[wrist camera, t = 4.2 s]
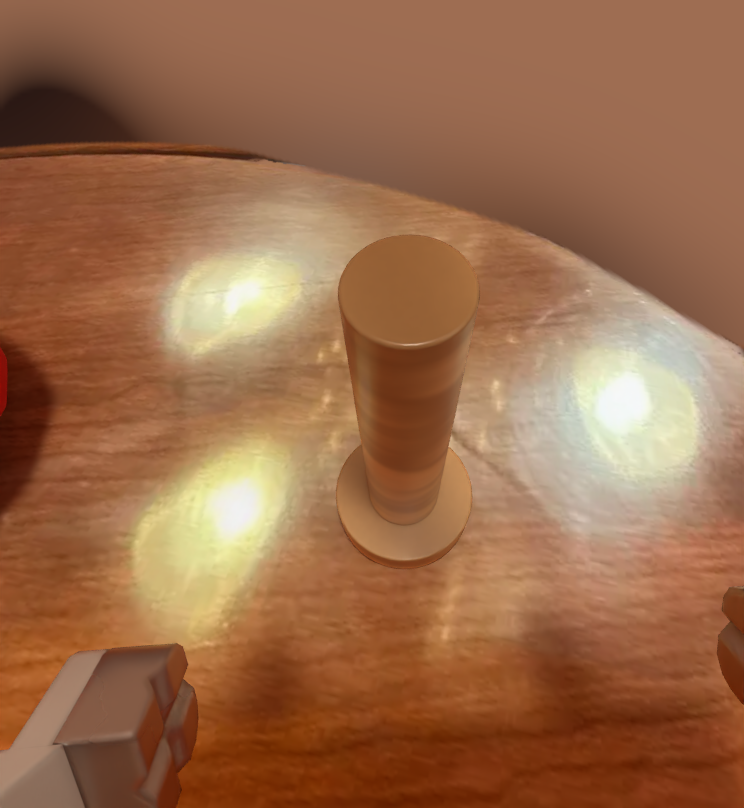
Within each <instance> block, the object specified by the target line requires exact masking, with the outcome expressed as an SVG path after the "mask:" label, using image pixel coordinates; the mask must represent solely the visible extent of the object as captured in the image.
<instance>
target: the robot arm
mask: <svg viewBox="0 0 744 808" xmlns="http://www.w3.org/2000/svg"><path fill="white" fill-rule="evenodd" d="M722 612H723V613H724V614H725V615H726V617H727V618H728V619H729V621H730V622H729V623H728V625H727V626H726V627H725V628H724V629H723V630H722V631H721V633H720V634H719V635H718V647H717V656H718V660H719V663H720V667H721V671H722V674H723V676H724V678H725V680H726V682H727V683H728V685H729V687H730V689H731V690H732V691H733V693H734V694H735V695H736V697H737V698H738V699H739V700H740V702H741V703H742V704H744V586H738V587H729V589H728V590H727V592H726V593H725V595H724V597H723V604H722ZM187 666H188V662H187V659H186V655H185V652H184V649H183V646H181V645H179V644H177V643H174V644H161V645H148V646H135V647H122V648H112V649H103V650H91V651H78V652H77V653H75V654H74V655H72V656H70V657H69V658H68V660H67V661H66V663H65V664H64V666H63V667H62V669H61V670H60V672H59V673H58V675H57V676H56V678H55V679H54V681H53V682H52V684H51V686H50V687H49V689H48V690H47V692H46V693H45V695H44V696H43V698H42V699H41V701H40V702H39V704H38V705H37V707H36V709H35V710H34V712H33V713H32V715H31V716H30V718H29V719H28V721H27V722H26V724H25V725H24V727H23V728H22V730H21V731H20V733H19V735H18V736H17V738H16V739H15V741H14V742H13V744H12V745H11V747H10V748H9V750H0V808H176V807H177V803H178V800H179V797H180V794H181V790H182V789H181V786H180V782H179V778H178V774H177V773H178V772H179V771H180V770H181V769H182V768H183V767H184V766H185V765H186V764H187V763H188V762H189V761H190V760H191V757H192V753H193V750H194V746H195V742H196V737H197V727H198V705H197V698H196V694H195V690H194V688H193V687H192V686H191V685H190V684H188V683H187V682H186V681H185V680H184V679H183V677H184V675H185V672H186V669H187Z"/></svg>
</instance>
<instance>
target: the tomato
mask: <svg viewBox="0 0 744 808" xmlns="http://www.w3.org/2000/svg"><path fill="white" fill-rule="evenodd" d="M7 374H8V368H7V358H6V356H5V355H4V353H3V351H2V349H1V347H0V416H1V415H2V413H3V411H4V409H5V407H6V404H7Z"/></svg>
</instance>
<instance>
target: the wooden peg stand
mask: <svg viewBox="0 0 744 808" xmlns="http://www.w3.org/2000/svg"><path fill="white" fill-rule="evenodd" d="M479 299H480V288H479V282H478V279H477V276H476V274H475V271H474V269H473V267H472V266H471V264H470V263H469V261H468V260H467V259H466V258H465V257H464V256H463V255H462V254H461V253H460V252H459V251H458V250H456V249H455V248H453V247H452V246H450V245H448V244H446V243H445V242H442V241H440V240H437V239H434V238H430V237H426V236H420V235H399V236H392V237H388V238H384V239H381V240H379V241H376V242H374V243H372V244H370V245H368V246H367V247H365V248H363V249H362V250H361V251H360V252H358V253H357V254H356V255H355V256H354V257H353V258H352V259H351V260H350V262H349V263H348V264H347V266H346V268H345V270H344V271H343V273H342V276H341V278H340V281H339V286H338V301H339V308H340V314H341V320H342V326H343V333H344V339H345V345H346V351H347V357H348V364H349V370H350V376H351V382H352V388H353V395H354V401H355V407H356V413H357V419H358V426H359V432H360V438H361V445H360V446H359V447H358V448H357V449H355V450H354V451H353V453H352V454H351V455H350V456H349V457H348V459H347V460H346V462H345V464H344V465H343V467H342V470H341V472H340V475H339V478H338V482H337V488H336V502H337V509H338V513H339V516H340V519H341V521H342V524H343V527H344V529H345V532H346V534H347V535H348V537H349V539H350V540H351V542H352V543H353V544H354V546H355V547H356V548H357V549H358V550H359V551H360V552H361V553H362V554H364V555H365V556H366V557H368V558H369V559H371V560H373V561H374V562H377V563H379V564H381V565H384V566H388V567H391V568H399V569H411V568H418V567H421V566H425V565H428V564H430V563H432V562H435V561H436V560H438V559H440V558H441V557H443V556H444V555H445V554H446V553H448V552H449V551H450V550H451V549H452V547H453V546H454V545H455V544H456V542H457V541H458V540H459V538H460V536H461V534H462V532H463V530H464V528H465V525H466V523H467V521H468V518H469V515H470V511H471V506H472V487H471V483H470V479H469V476H468V473H467V470H466V469H465V467H464V465H463V463H462V461H461V460H460V459H459V457H458V456H457V455H456V454H455V453H454V451H453V450H452V449H451V448H449V447H448V446H449V441H450V437H451V432H452V427H453V423H454V418H455V413H456V408H457V404H458V399H459V394H460V389H461V385H462V380H463V375H464V371H465V366H466V361H467V356H468V352H469V347H470V342H471V337H472V333H473V328H474V323H475V319H476V314H477V309H478V304H479Z"/></svg>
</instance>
